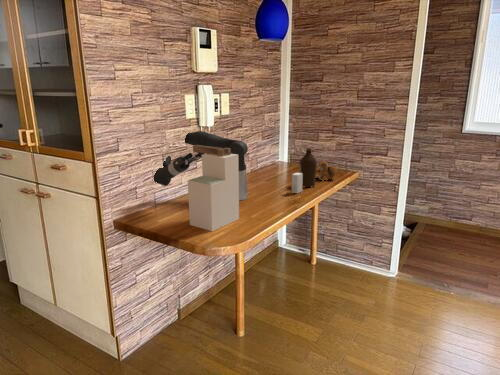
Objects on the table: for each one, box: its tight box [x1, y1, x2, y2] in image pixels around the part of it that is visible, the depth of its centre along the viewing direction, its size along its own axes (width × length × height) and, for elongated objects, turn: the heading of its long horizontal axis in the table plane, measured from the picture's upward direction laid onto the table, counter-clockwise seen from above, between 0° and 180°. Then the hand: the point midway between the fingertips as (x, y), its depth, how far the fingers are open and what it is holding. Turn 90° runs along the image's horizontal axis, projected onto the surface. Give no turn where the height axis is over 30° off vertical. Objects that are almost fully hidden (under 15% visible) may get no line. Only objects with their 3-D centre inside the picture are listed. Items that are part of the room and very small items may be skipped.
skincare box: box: [291, 172, 303, 194], centre depth 225 cm, size 6×4×12 cm
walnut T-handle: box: [192, 145, 231, 157], centre depth 177 cm, size 6×20×3 cm, turn 54°
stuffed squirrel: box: [316, 160, 338, 181], centre depth 256 cm, size 10×14×13 cm
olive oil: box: [299, 147, 318, 188], centre depth 238 cm, size 11×11×25 cm
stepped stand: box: [187, 154, 240, 232], centre depth 174 cm, size 20×14×32 cm
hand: (197, 153), depth 182 cm, fingers open, 8 cm apart
